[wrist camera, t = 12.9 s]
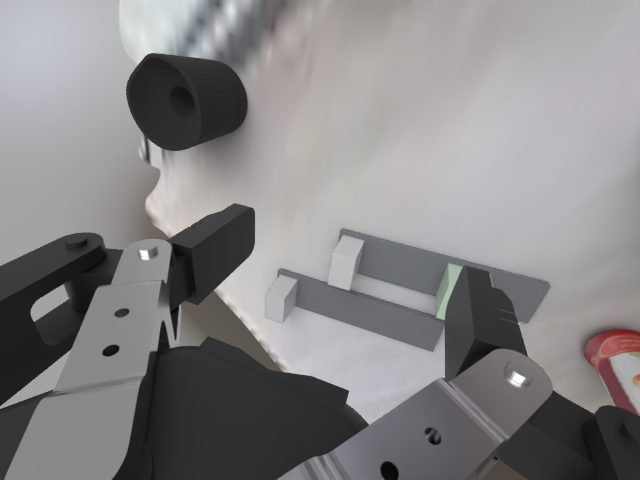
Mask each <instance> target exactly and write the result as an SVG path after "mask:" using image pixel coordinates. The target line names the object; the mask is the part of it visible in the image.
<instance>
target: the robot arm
mask: <svg viewBox="0 0 640 480" xmlns="http://www.w3.org/2000/svg"><path fill="white" fill-rule="evenodd" d="M254 244H255V211H254V209H253V208H251V207H247V206H244V205H240V204H236V203H235V204H232V205H231V206H229V207H227V208H226V209H224V210H223V211H221V212H217V213H214V214H210V215H207V216H206V217H204V218H203V219H201V220H199V222H196V223H194V224H193V225H191V227H188V228H186V229H184V230H183V231H181V232H180V233H178V234H176V235H175V236H173V237H171V238H170V239H168V240H167V241H164V240H160V239H146V240H141V241H138V242H135V243H133V244H131V245H129V246H128V247H126V248H125V249H124V250H118V249H106V248H105V245H104V241H103V238H102V237H101V236H100V235H98V234H95V233H76V234H71V235H67V236H64V237H61V238H59V239H57V240H55V241H53V242H51V243H48V244H46V245H44V246H42V247H40V248H38V249H36V250H34V251H32V252H29V253H28V254H25V255H23V256H21V257H19V258H17V259H15V260H13V261H10V262H8V263H6V264H4V265H2V266H0V406H1V405H2V404H3V403H5V402H6V401H7V400H8V399H10V398H11V397H12V396H13V395H15V394H16V393H17V392H18V391H20V390H21V389H22V388H23V387H25V386H26V385H27V384H28V383H30V382H31V381H32V380H33V379H35V378H36V377H37V376H38V375H39V374H41V373H42V372H43V371H44V370H46V369H47V368H48V367H49V366H51V365H52V364H53V363H54V362H56V361H57V360H58V359H59V358H60V357H62V356H63V355H64V354H66V353H67V352H68V351H69V350H71V352H70V354H69V356H68V359H67V361H66V363H65V366H64V368H63V371H62V373H61V375H60V378H59V380H58V383H57V385H56V387H55V389H54V390H51V391H48V392H45V393H43V394H40V395H37V396H35V397H32V398H29V399H26V400H24V401H21V402H18V403H16V404H13V405H10V406H8V407H5V408H2V409H0V480H480V479H481V478H482V477H483V476H484V475H485V474H486V473H487V472H488V471H489V470H490V469H491V468H492V466H493V465H494V464H495V463H496V462H497V461H498V460H499V459H500V460H501V461H503V462H504V463H506V464H507V465H508V466H510V467H511V468H513V469H514V470H515V471H517V472H518V473H520V474H521V475H522V476H524V477H525V478H527V479H528V480H640V416H638V415H636V414H634V413H633V412H631V411H628V410H626V409H623V408H620V407H617V406H610V405H606V406H602V407H600V408H599V409H598V410H597V411H596V412H595V413H594V414H593V413H591V412H589V411H587V410H586V409H584V408H582V407H580V406H579V405H577V404H575V403H573V402H571V401H570V400H568V399H566V398H564V397H563V396H561V395H559V394H558V393H556V392H555V391H554V390H553V387H552V383H551V380H550V378H549V377H548V375H547V374H546V372H545V371H544V370H543V369H542V368H541V367H540V366H539V365H538V364H537V363H536V362H534V361H533V360H532V359H530V358H529V357H528V355H527V352H526V348H525V345H524V341H523V338H522V335H521V331H520V328H519V325H517V324H518V321H517V318H516V315H515V311H514V307H513V304H512V301H511V300H510V299H509V298H508V296H507V295H506V294H505V293H504V292H503V290H501V289H498V288H494V287H492V282H491V278H490V273H489V271H487V270H483V269H480V268H476V267H472V266H468V265H464V266H463V268H462V269H461V272H460V274H459V276H458V279H457V281H456V284H455V286H454V288H453V291H452V293H451V295H450V298H449V300H448V303H447V307H446V312H445V379H444V378H439V379H437V380H435V381H434V382H432V383H431V384H429V385H428V386H426V387H425V388H423V389H422V390H421V391H419V392H418V393H416V394H415V395H413V396H412V397H410V398H409V399H407V400H406V401H404V402H403V403H401V404H400V405H399V406H397V407H396V408H394V409H393V410H391V411H390V412H388V413H387V414H385V415H384V416H382V417H381V418H379V419H378V420H377V421H375V422H374V423H372V424H371V425H369V424H368V423H367V422H366V421H365V420H364V419H363V418H362V416H361V415H359V414H358V413H357V412H356V411H355V410H354V409H353V408H351V407H350V406H349V405H347V404H346V401H347V397H348V393H349V391H348V390H346V389H343V388H341V387H338V386H335V385H333V384H330V383H328V382H325V381H322V380H320V379H317V378H315V377H312V376H306V375H299V374H292V373H285V372H277V371H272V370H269V369H267V368H265V367H264V366H263V365H262V364H260V363H259V362H257V361H256V360H255V359H253V358H252V357H251V356H249V355H248V354H247V353H245V352H244V351H242V350H241V349H240V348H237V347H234V346H232V345H229V344H227V343H224V342H222V341H219V340H216V339H214V338H211V337H209V336H208V337H207V338H206V339H205V341H204V342H203V343H202V344H201V345H200V346H181V347H179V336H180V322H181V305H180V304H181V303H183V301H188V302H190V303H193V304H196V305H199V303H201V302H202V301H203V300H204V299H205V298H206V297H207V296H208V295H209V294H210V293H211V292H212V291H213V290H214V289H215V288H216V287H217V286H219V285H220V284H221V283H222V282H223V281H224V280H225V279H226V278H227V277H228V276H229V275H230V274H231V273H232V272H233V271H234V270H235V269H236V268H237V267H239V266H240V265H241V264H242V263H243V262H244V261H245V260H246V259H247V258H248V257H249V256H250V255H251V253H252V251H253V248H254ZM62 284H64V286H65V289H66V292H67V294H68V297H69V300H67V301H66V302H64V303H63V304H61V305H59V306H58V307H57V308H55V309H53V310H52V311H50V312H49V313H47V314H46V315H44V316H43V317H41V318H40V319H38V320H37V321H35V322H33V320H32V318H31V315H30V311H31V308H32V306H33V304H34V303H35V302H36V301H37V300H38V299H39V298H41V297H43V296H44V295H46V294H48V293H49V292H51V291H52V290H54V289H56V288H57V287H59V286H61V285H62Z"/></svg>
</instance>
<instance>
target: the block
mask: <svg viewBox="0 0 640 480" xmlns="http://www.w3.org/2000/svg"><path fill="white" fill-rule="evenodd" d="M462 268H463V267H461V266H458V265H454V264H450V263H448V265H447V268H446V271H445V273H444V276H443V278H442V281H441V283H440V286H439V289H438V291H437V298H436V318H439V319H442V320H445V312H446V307H447V303H448V300H449V298H450V295H451V293H452V291H453V288H454V286H455V284H456V281H457V279H458V276H459V274H460V272H461V269H462ZM490 278H491V275H490ZM491 282H492V280H491ZM492 287H493V284H492Z"/></svg>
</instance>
